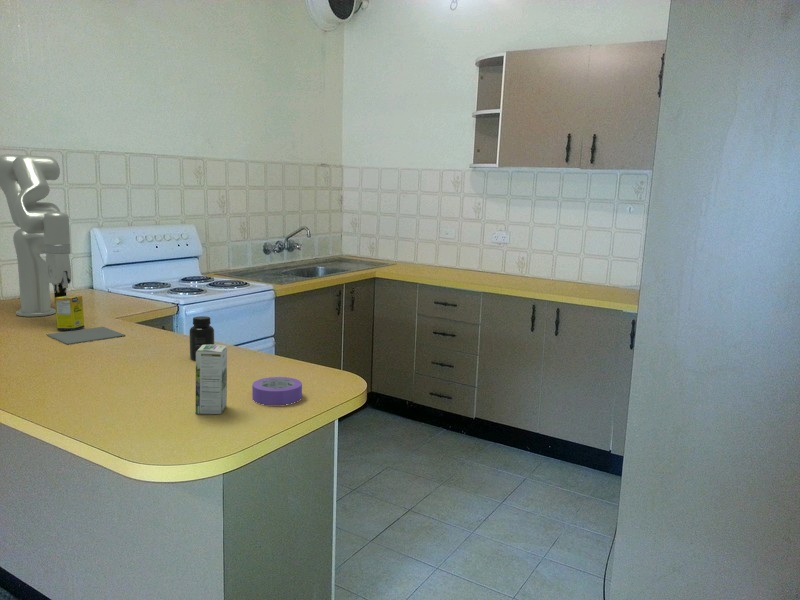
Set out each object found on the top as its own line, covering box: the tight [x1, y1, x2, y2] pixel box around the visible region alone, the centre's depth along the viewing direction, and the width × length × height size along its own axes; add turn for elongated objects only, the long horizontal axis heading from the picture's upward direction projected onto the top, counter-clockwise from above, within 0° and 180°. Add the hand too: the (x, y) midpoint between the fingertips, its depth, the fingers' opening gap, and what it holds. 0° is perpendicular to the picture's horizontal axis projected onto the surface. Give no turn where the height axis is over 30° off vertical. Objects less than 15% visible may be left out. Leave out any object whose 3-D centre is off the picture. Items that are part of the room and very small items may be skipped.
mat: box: [45, 326, 126, 346], centre depth 200 cm, size 16×18×1 cm
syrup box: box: [195, 344, 228, 415], centre depth 138 cm, size 6×6×14 cm
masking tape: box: [251, 376, 303, 406], centre depth 149 cm, size 12×12×4 cm
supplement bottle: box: [189, 315, 215, 361], centre depth 180 cm, size 7×7×12 cm
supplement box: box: [54, 295, 85, 331], centre depth 207 cm, size 6×6×11 cm
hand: (60, 303), depth 211 cm, fingers closed
